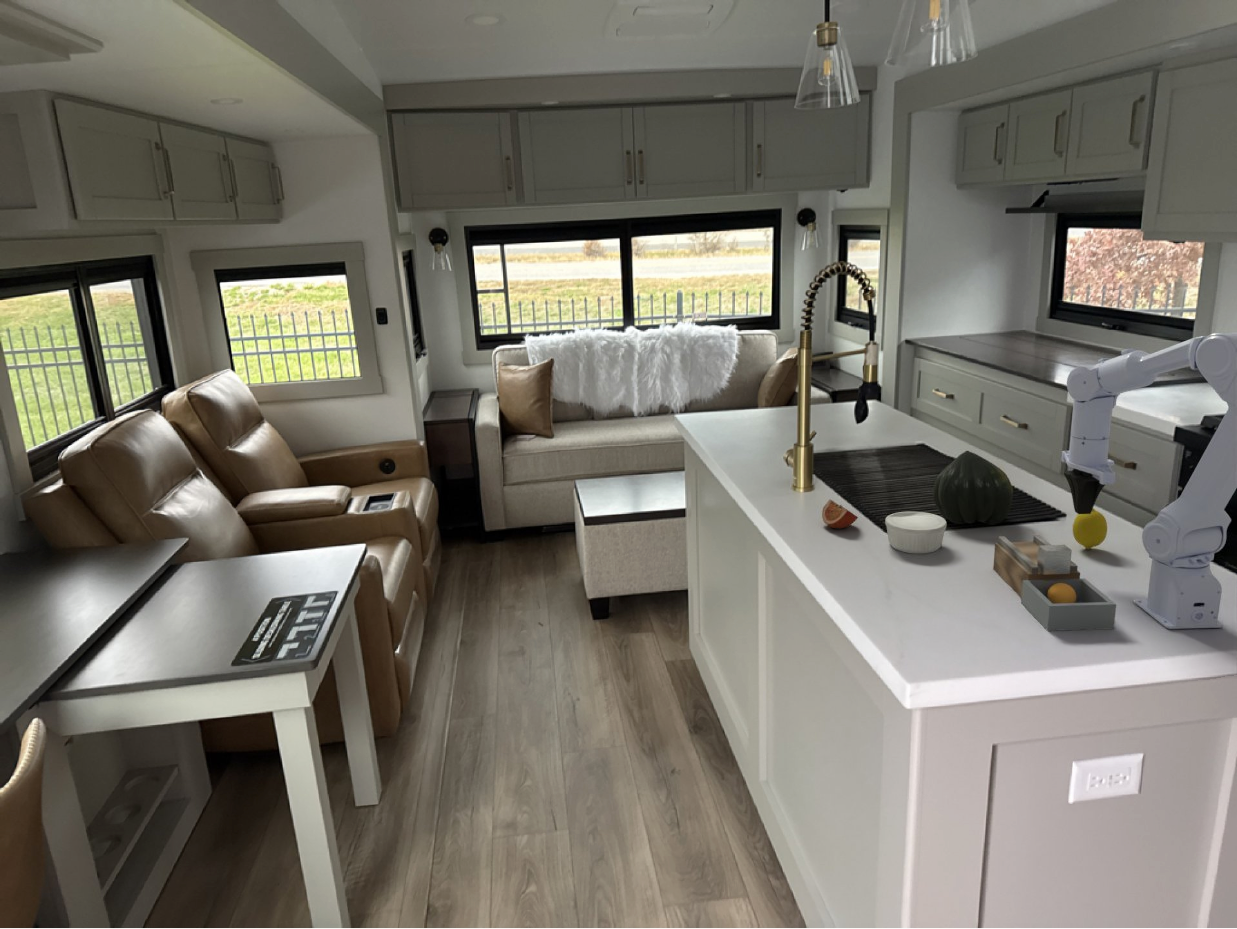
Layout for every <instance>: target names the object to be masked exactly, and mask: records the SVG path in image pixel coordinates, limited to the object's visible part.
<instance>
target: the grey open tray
mask: <svg viewBox="0 0 1237 929" xmlns="http://www.w3.org/2000/svg"><path fill="white" fill-rule="evenodd" d="M1057 583H1064V584H1067V585H1069V586H1071V587H1072V588H1073V589H1074V591H1075V593H1076V601H1075V603H1059V604H1052V603H1051V602H1050V601H1049V600H1048V597H1047V593H1048V590H1049V588H1050V587H1051V586H1052V585H1054V584H1057ZM1020 598H1021V597H1020ZM1020 601H1021V602H1020V605H1022V606H1023V607H1024V608H1025V609H1026V610H1027V611H1028V612H1029V613H1030V614H1031V615H1032V617H1033V618H1034V619H1036V620H1037V621H1038V622H1039V623H1040V624H1041V625H1042V626H1043V628H1044V629H1046V630H1047V631H1077V629H1079V630H1078V631H1082V630H1081V629H1087V630H1114V629H1115V619H1116V612H1117V603H1116V602H1115V601H1113V600H1112V599H1111V598H1109V597H1108V596H1107V595H1106V594H1104V592H1102V591H1101V590H1100V589H1098V588H1097V587H1096V586H1095V585H1094V584H1092V583H1091V582H1090V581H1089V580H1088V579H1086V577H1085V578H1084V577H1083V578H1082V577H1080V579H1049V580H1023V585H1022V598H1021V600H1020Z"/></svg>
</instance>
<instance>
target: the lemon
mask: <svg viewBox="0 0 1237 929" xmlns="http://www.w3.org/2000/svg"><path fill="white" fill-rule="evenodd" d="M1107 534H1108V524H1107V519H1106V518H1105V516H1104V515H1103V513H1101V512H1100V511H1098V510H1096V509H1095V508H1093V509H1092V512H1091V514H1078V513H1077V515H1076V516H1075V519H1074V520H1073V524H1072V535H1073V537H1074V539H1075V541H1076V543H1078V544H1079V545H1080V546H1083V547H1084V549H1086V550H1091V549H1092V548H1095V547H1098V546H1100V545H1101V544H1102V543H1103V542H1105V540H1106V538H1107Z"/></svg>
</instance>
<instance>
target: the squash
mask: <svg viewBox="0 0 1237 929" xmlns="http://www.w3.org/2000/svg"><path fill="white" fill-rule="evenodd" d="M934 481H935V482H934V484H933V489H932V490H933V491H932V497H933V501H934V504H935V507H936V509H937V510H938V513H940V514H941V515H942V516H943V518H945V519H948V521H950V523H954V524H958V525H963V524H966V523H968V524H973V523H975V522H976V521H977V522H980V523H981V522H982V523H983V524H985V525H988V526H993V525H998V524H1000V523H1002V522H1004V521H1005V519H1006V518H1007V516H1008V515H1009V512H1010V509H1011V506H1012V501H1013V495H1014V491H1013V490H1014V489H1013V486H1012V483H1011V481H1010V478H1009V477H1008V475H1007V473H1006V472H1005V471H1003V470H1002V469H1001V468H1000V467H998V466H997V465H996V464H994V463H993V462H990V461H989V460H987V459H985V458H984V457H982V456H980V455H979V454H977V453H974V452H972V451H970V450H965V451H964V452H962V453H961V454H959V455H958V456H957V457H956V458H955V459H954V460H953V461H952V462H950V463H949V464H948V465H947V466H946V467H945V468H944V469H943V470H942V471H941V472H940V473H939V474H938V476H937V477H936V479H935V480H934Z"/></svg>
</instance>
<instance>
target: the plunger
mask: <svg viewBox="0 0 1237 929" xmlns="http://www.w3.org/2000/svg"><path fill="white" fill-rule="evenodd" d="M1072 551H1073V550H1072V548H1069V547H1068V546H1067V545H1066V544H1051V545H1041V546H1039V550H1038V563H1037V566H1038V567H1039V571H1040V572H1041V573H1042V574H1043V575H1048V574H1070V564H1071V561H1072Z"/></svg>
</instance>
